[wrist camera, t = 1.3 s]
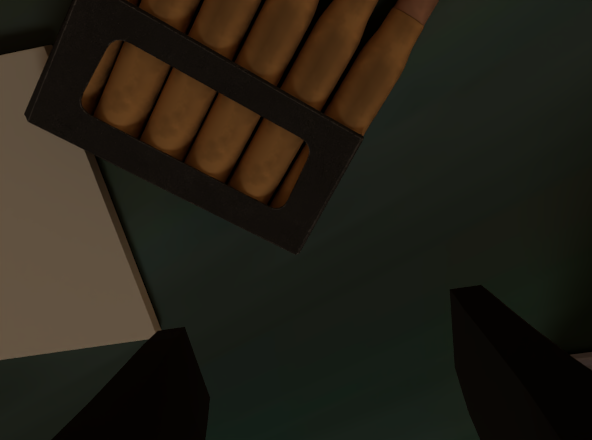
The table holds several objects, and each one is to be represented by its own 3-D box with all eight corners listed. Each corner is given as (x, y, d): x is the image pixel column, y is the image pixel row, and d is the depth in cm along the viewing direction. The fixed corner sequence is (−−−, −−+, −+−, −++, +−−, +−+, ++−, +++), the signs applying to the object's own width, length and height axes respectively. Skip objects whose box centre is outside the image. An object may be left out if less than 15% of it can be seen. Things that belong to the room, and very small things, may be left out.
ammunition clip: (20, 118, 17) (168, -291, 13) (45, 108, 18) (181, -255, 14) (298, 255, 19) (494, -55, 15) (296, 235, 21) (473, -48, 17)
